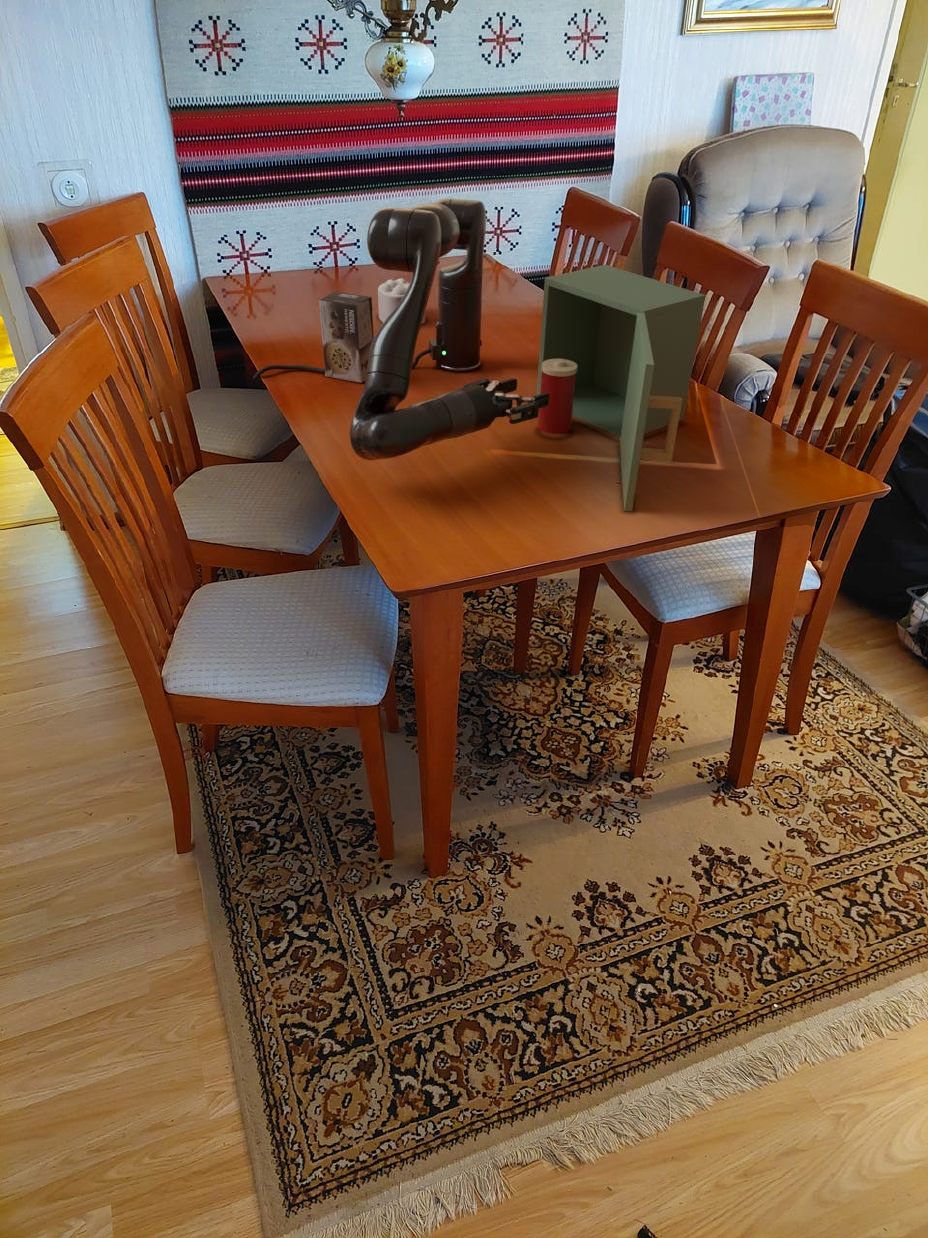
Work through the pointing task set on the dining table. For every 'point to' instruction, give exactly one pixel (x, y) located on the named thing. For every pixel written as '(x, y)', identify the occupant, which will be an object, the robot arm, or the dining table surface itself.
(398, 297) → the white lumpy-topped cup
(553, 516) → the dining table surface
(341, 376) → the coffee box
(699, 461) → the dining table surface
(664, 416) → the cupboard
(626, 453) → the cupboard door
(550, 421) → the red canister
